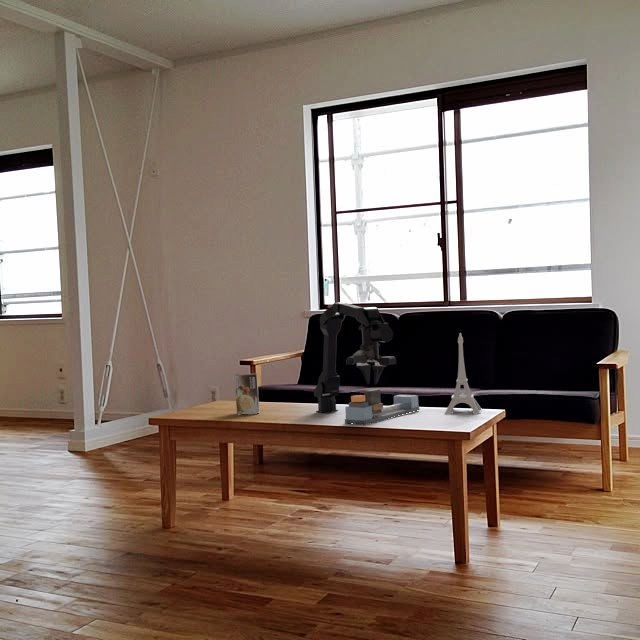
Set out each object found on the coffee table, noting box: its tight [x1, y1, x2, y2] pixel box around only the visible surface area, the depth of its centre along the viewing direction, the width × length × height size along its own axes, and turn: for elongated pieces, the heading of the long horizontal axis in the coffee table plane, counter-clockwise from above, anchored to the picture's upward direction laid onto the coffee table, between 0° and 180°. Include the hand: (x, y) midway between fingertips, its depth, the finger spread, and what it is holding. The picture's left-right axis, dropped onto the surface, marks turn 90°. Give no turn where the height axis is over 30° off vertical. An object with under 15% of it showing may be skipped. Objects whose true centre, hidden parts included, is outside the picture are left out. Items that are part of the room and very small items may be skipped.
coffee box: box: [234, 373, 260, 415], centre depth 319 cm, size 9×6×16 cm
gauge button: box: [350, 394, 365, 402], centre depth 281 cm, size 4×4×2 cm
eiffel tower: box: [443, 332, 483, 415], centre depth 299 cm, size 13×13×30 cm
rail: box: [344, 394, 421, 426], centre depth 294 cm, size 9×37×8 cm, turn 142°
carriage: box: [363, 388, 384, 415], centre depth 288 cm, size 5×6×8 cm
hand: (371, 384), depth 288 cm, fingers open, 3 cm apart
